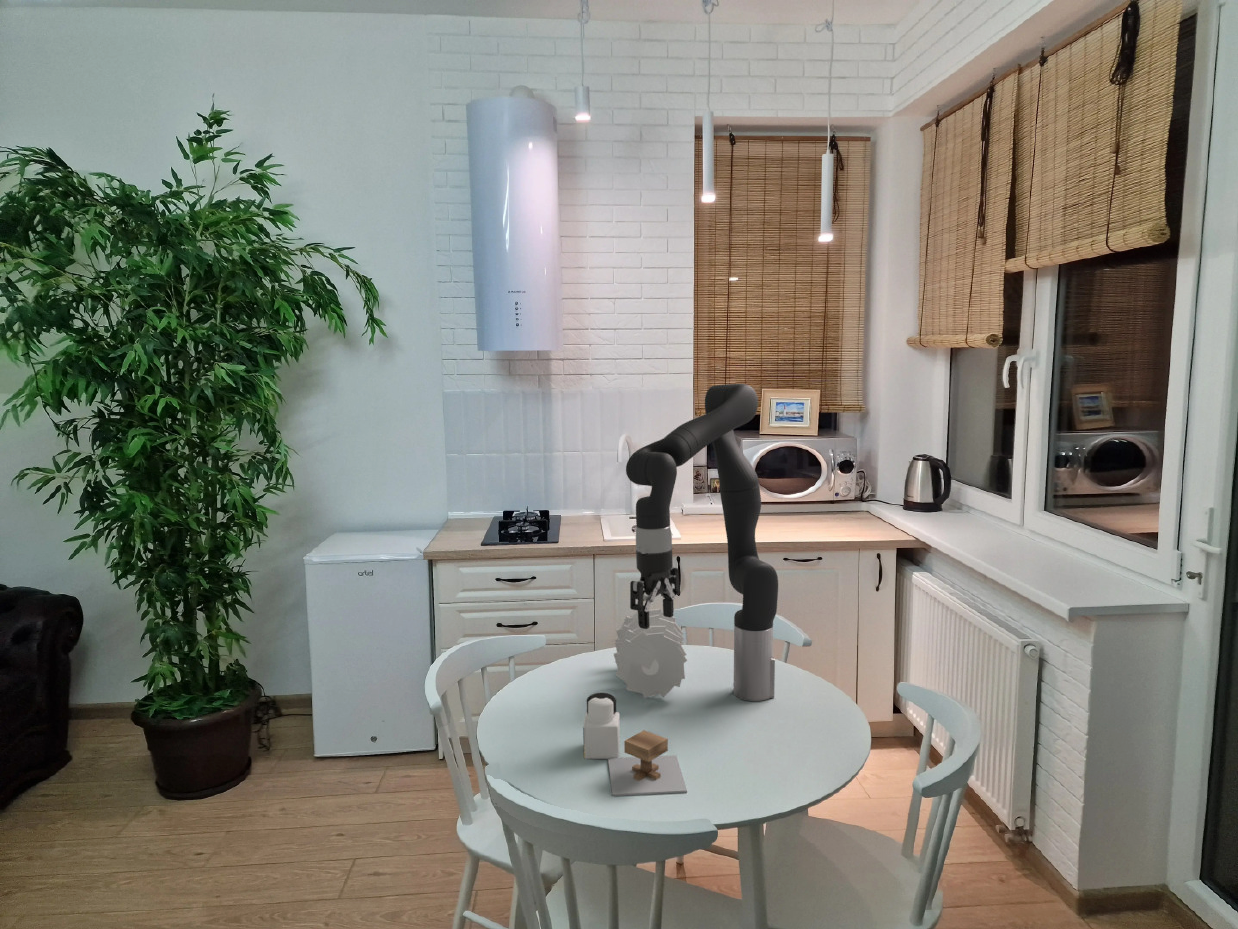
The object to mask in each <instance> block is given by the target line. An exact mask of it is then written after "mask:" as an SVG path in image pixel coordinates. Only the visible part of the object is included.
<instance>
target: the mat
mask: <svg viewBox="0 0 1238 929" xmlns="http://www.w3.org/2000/svg"><path fill="white" fill-rule="evenodd" d="M607 762H608V770H609V777H610V778H609V779H610V785H611V786H610V787H611V793H612V794H611V795H612V796H613V797H619V796H620V797H621V796H623V797H624V796H641V795H660V794H661V795H663V794H683V793H688V790H687V786H686V783H685V780H684V776H683V772H682V769H681V767H680V763H679V760H678V756H677V755H676V754H675V755H674V754H673V755H660V756H658V757H656V758H655V759H653V760H652V763H654V764H656V765H659V769H658V770H656V772H658V773H660V774H661V777H660V778H659V779H657V780H654V779H652V778H649V777H645V778H643V779H642V780H640V781H638V780H636V779H634V774H636V773H637V772H635V771H632V766H634V765H636V764H638V765H641V759H639V758H637V757H634V756H632V757H619V758H608V759H607Z"/></svg>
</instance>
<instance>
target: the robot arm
mask: <svg viewBox="0 0 1238 929" xmlns="http://www.w3.org/2000/svg"><path fill="white" fill-rule="evenodd" d="M758 399H759V398H758V395H757V392H756V390H755V389H754V388H753V387H752V386H750V385H748V384H746V383H745V384H744V383H727V384H726V383H725V384H716V385H712V386H710V387H709V389H707V391H706V392H705V396H704V410H705V411H704V412H705V414H702V415H700V416H697V417H694V418H693V419H691V420H688V421H686V422H684V423H682V424H680V425H678V426H677V427H676V428H674V429H673V430H672V431H670V433H668V434H666V436H664V437H663V438H661V439H659V440H656V441H654V442H651V443H649V444H647V445H645V446H641V448H639V449H637V450H636V451H634V452H633V453H632V454H631V455H630V457H629V458H628V460H627V461H626V462H627V463H626V466H625V473H626V476H627V478H628V480H629V481H630V482H632V483H633V484H635V485H640V486H646V487H651V489H650V490H651V491H650V493H649V495H648V496H643V497H641V498H639V499H637V501H636V503H635V525H636V526H635V528H636V529H635V557H636V563H635V564H636V569H637V570H638V572H639V573H640V578H639V580H637V581H635V580H630V586H629V587H630V588H629V589H630V590H629V591H630V594H629V595H630V598H629V600H630V601H629V603H630V605H629V608H630V610H633V611H636V612H638V624H639V627H640V628H643V629H648V628H649V627H650V626H649V611H648V610H650V607H651V604H652V603H653V602H654V601H655V598H656V597H658V596H659V595H661V597H662V612H663V615H664V616H665V617H674V611H675V610H674V608H675V607H674V600H675V599H676V596H678V595H679V594H680V593H681V590H680V589H681V586H680V576H679V574H680V573H679V568H677V567H673V536H672V530H671V529H672V528H671V510H670V509H671V508H670V506H671V503H672V502H671V501H672V497H673V494H674V488H675V484H676V480H677V476H678V474H677V473H678V469H677V468H678V467H682V466H683V465H684V464H686V463H687V462H689V461H690V459H692V458H693V457H694V456H697V454H699V452H700V451H702V450H703V449H704V448H706V447H707V446H708V445H710V444H712V446H713V451H714V457H715V462H716V463H715V464H716V469H717V476H718V486H719V493H720V501H721V506H722V512H723V519H724V520H723V521H724V526H725V533H726V539H727V540H726V541H727V560H728V562H727V564H728V579H729V582H730V585H731V586H732V588H733V589H734V590H735V591H736V592H738V593H739V594H741V595H742V606H741V607H742V608H741V609H739V610H737V611H736V612H735V613H734V617H733V618H734V620H733V625H734V626H733V684H732V686H733V695H734V696H735V697H737V698H738V699H741V700H744V701H749V702H750V701H751V702H759V701H760V702H761V701H766V700H768V699H770V698H772V699H773V698H775V689H776V688H775V685H776V684H775V681H776V680H775V678H776V677H775V676H776V674H775V673H776V671H775V670H776V659H775V658H774V656H773V652H774V648H773V647H774V639H773V638H774V620H775V617H776V615H777V610H778V600H779V599H778V595H779V577H778V573H777V571H776V569H775V567H773V566H772V565H771V564H769V563H767V562H766V561H763V560H760V558H759V555H758V549H757V544H756V543H757V542H756V528H757V525H758V521H759V519H760V513H761V508H762V496H761V490H760V488H761V487H760V482H759V477H758V474H757V472H756V470H755V469H754V467H753V465H752V463H751V462H750V461H749V460H748V458H747V457H746V456H745V454H744V452H743V451H742V450H741V448H740V447H739V445H738V442H737V440H736V437H735V432H734V430H735V429H737V428H739V427H741V426H744V425H745V424H747V423H749V422H750V421H752V420H753V419H754V418H755V416H756V414H757V411H758V408H759V400H758ZM673 586H674V587H673ZM645 594H646V595H645ZM636 600H637V602H636Z"/></svg>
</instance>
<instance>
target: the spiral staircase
mask: <svg viewBox="0 0 1238 929" xmlns="http://www.w3.org/2000/svg"><path fill="white" fill-rule="evenodd" d="M648 611H649V626H650V627H649V628H648V629H643V628H640V627H639V624H638V611H636V612H635V613H634V614H632V615H630V616H628V615H626V616H625V618H624V621H623V622H622V625H621V627H620V628H617V629H615V631H616V635H617V638H616V639H614V644H615V648H616V652H614V653H613V657H614V660H615V662H614V663H616V667H617V671H615V672H614V674H615V675H616V676H617V677H619V679H621V680H622V681H623V683H625V684H626V688H625V690H626V691H630V692H634V693H637V694H642V696H643V699H646V698H649V697H650V698H651V697H653V696H657V695H661V697H663V698H665V696H666V695H667V694H668V693H669V692H670V691H671V690H673V688H674V687H677V688H680V686H681V683H682V680H685V679H686V677H685V676H686V675H685V674H686V673H685V663H686V662H688V659H687V658H686V656H687V653H686V652H685V649H684V648H683V646H682V641H683V640H684V639H685V638H684V637H683V635H684V632H683V631H682V630H681V628H680V627H679V626H678V624H677V622H676V620H677V617H675V616H673V617H665V616H664V615H663V611H662V608H655V609H654V608H653V609H649V610H648Z"/></svg>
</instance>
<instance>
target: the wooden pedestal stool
mask: <svg viewBox="0 0 1238 929" xmlns="http://www.w3.org/2000/svg"><path fill="white" fill-rule="evenodd" d="M668 740H669V739H668V738H666V737H663V736H660V735H657V734H655V733H653V732H649V731H647V730H642V731H639V732H637V733H636V734H634V735H633V736H631V737H629V738H627V739H625V740H624V741H623V744H624V750H623V751H624V753H625V754H627V755H630V756H632V757H637V758H639V759H641V765H638V764H636V765H634V766H632V771H635V772H637V773H636V774H634V779H636V780H638V781H640V780H642V779H643V778H645V777H649V778H652V779H654V780H657V779H659V778H660V777H661V774H660V773H658V772H656V770H658V769H659V765H656V764H654V763H652V760H653V759H655V758H656V757H658V756H662V755H663V754H665V753H666V752H668V751H669V742H668Z"/></svg>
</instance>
